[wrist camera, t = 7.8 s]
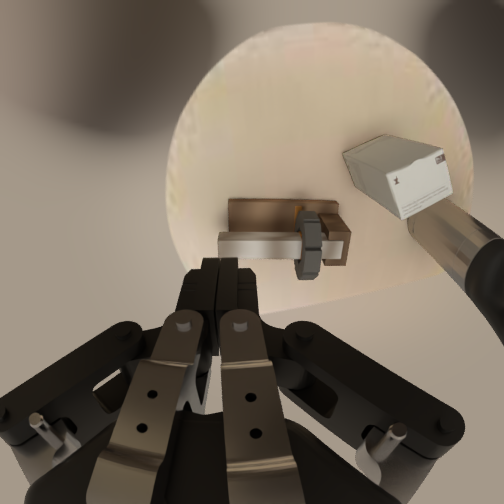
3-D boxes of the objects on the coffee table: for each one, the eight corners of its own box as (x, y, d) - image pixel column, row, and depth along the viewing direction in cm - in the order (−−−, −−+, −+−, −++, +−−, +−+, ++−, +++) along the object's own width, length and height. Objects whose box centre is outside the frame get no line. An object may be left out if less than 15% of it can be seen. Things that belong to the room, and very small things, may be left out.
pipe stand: (336, 200, 43) (354, 222, 35) (330, 248, 47) (344, 276, 39) (222, 199, 42) (216, 220, 35) (223, 247, 46) (219, 277, 39)
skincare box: (354, 186, 42) (398, 226, 29) (340, 150, 39) (383, 175, 26) (399, 166, 40) (455, 197, 27) (387, 130, 37) (445, 147, 24)
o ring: (310, 203, 40) (325, 228, 33) (305, 258, 44) (316, 291, 37) (296, 203, 40) (308, 228, 33) (292, 258, 44) (301, 291, 37)
